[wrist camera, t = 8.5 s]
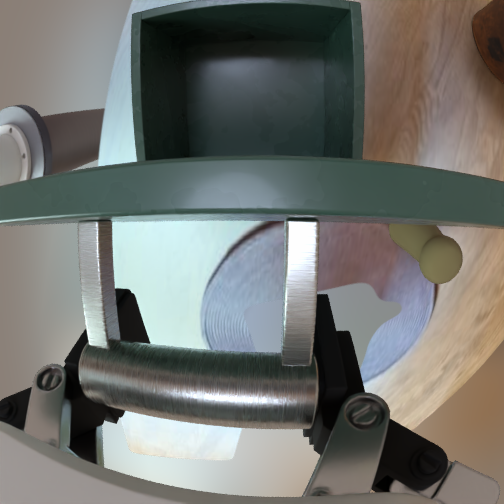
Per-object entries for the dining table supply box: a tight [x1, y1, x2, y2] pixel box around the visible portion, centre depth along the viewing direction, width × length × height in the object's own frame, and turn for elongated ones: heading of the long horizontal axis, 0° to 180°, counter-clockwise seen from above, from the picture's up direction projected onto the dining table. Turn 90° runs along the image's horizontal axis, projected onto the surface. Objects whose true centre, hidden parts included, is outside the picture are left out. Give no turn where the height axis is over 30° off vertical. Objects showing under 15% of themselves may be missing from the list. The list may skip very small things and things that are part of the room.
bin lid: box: [0, 155, 504, 429], centre depth 13 cm, size 17×17×6 cm
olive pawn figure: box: [389, 224, 462, 284], centre depth 29 cm, size 6×6×11 cm
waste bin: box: [131, 0, 365, 162], centre depth 23 cm, size 17×17×13 cm
